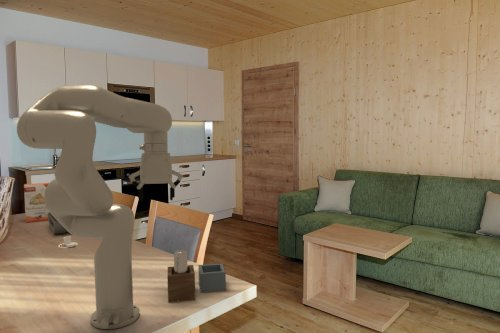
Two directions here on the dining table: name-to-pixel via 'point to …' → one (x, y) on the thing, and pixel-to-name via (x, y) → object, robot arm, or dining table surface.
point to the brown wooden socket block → (181, 285)
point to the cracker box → (35, 202)
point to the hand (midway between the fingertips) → (156, 200)
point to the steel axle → (180, 262)
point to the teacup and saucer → (68, 242)
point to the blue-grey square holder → (212, 277)
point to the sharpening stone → (55, 225)
